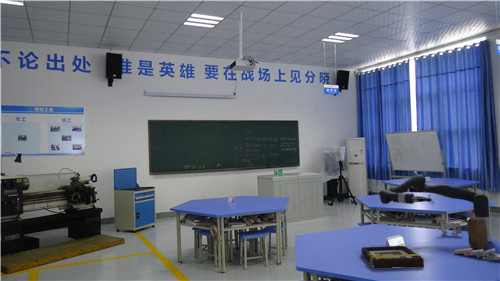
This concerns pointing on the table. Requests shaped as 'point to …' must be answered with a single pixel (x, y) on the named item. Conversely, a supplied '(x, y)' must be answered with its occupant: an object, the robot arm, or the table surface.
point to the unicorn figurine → (448, 226)
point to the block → (477, 232)
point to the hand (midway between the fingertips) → (431, 199)
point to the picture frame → (392, 257)
